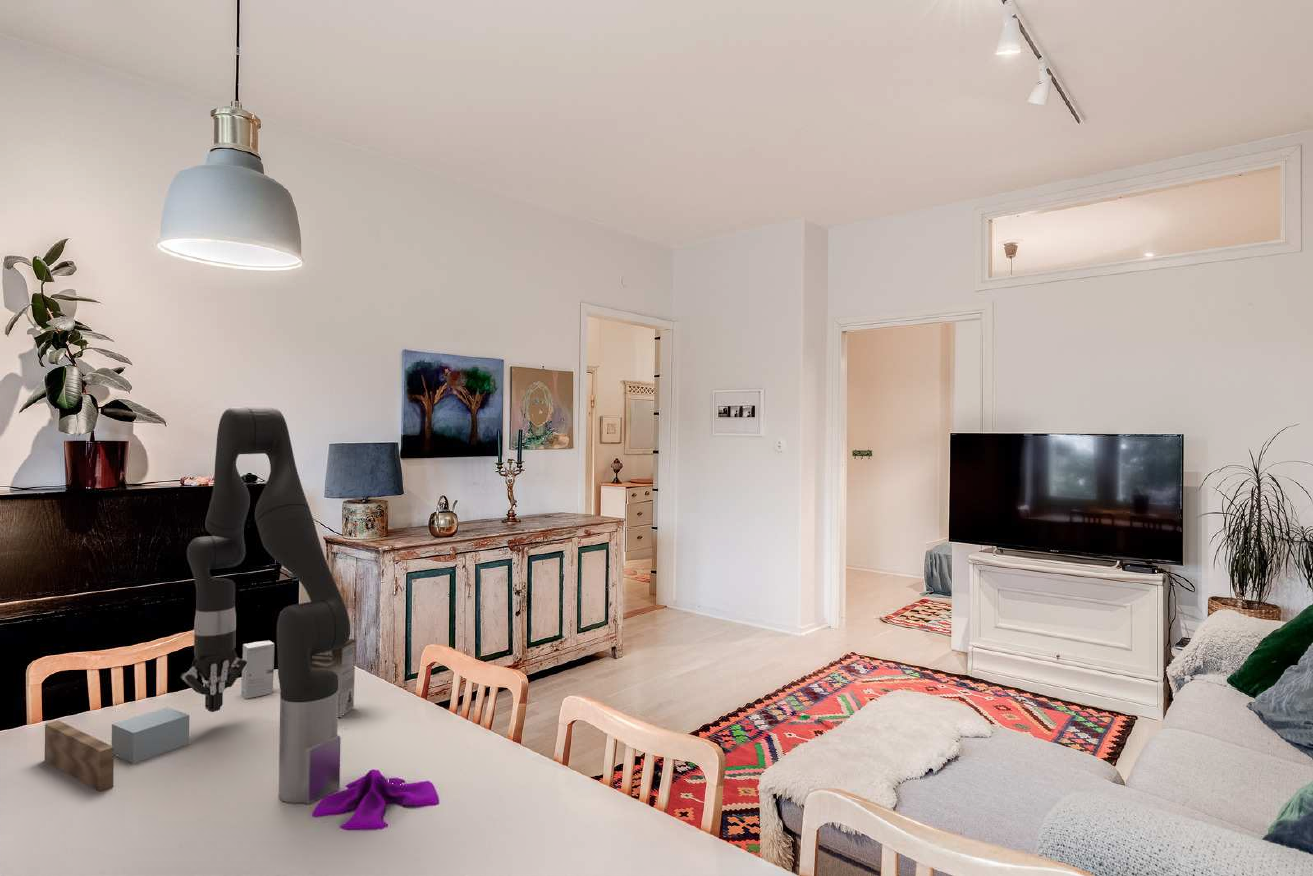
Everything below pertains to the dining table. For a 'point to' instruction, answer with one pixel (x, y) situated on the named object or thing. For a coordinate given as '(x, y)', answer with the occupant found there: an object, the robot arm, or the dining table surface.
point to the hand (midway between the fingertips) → (213, 710)
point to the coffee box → (340, 672)
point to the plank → (79, 755)
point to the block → (150, 734)
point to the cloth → (375, 800)
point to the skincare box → (258, 669)
